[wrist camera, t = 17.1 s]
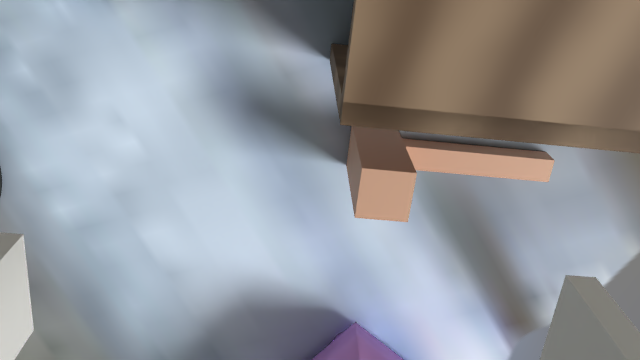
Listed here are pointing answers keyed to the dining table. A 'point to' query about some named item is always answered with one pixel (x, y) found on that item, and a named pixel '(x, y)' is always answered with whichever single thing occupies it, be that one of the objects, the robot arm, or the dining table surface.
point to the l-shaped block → (423, 168)
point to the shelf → (495, 70)
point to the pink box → (356, 347)
